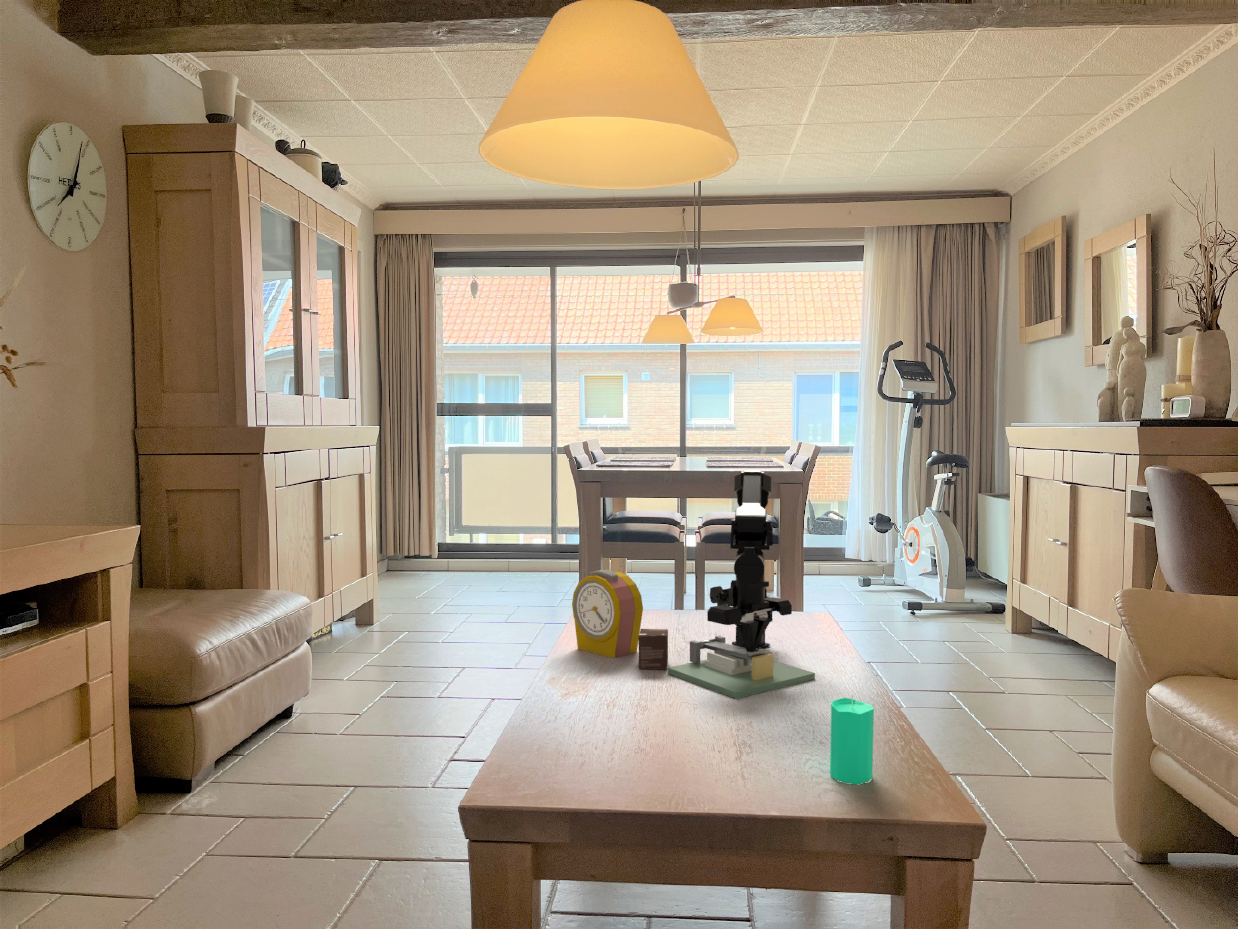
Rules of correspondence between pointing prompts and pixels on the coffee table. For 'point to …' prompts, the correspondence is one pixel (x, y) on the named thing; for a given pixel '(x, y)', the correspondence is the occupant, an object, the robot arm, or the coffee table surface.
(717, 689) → the board
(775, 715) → the coffee table surface
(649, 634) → the box
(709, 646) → the grey hinged lever
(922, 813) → the coffee table surface
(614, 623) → the alarm clock
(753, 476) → the robot arm
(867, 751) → the candle
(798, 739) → the coffee table surface
